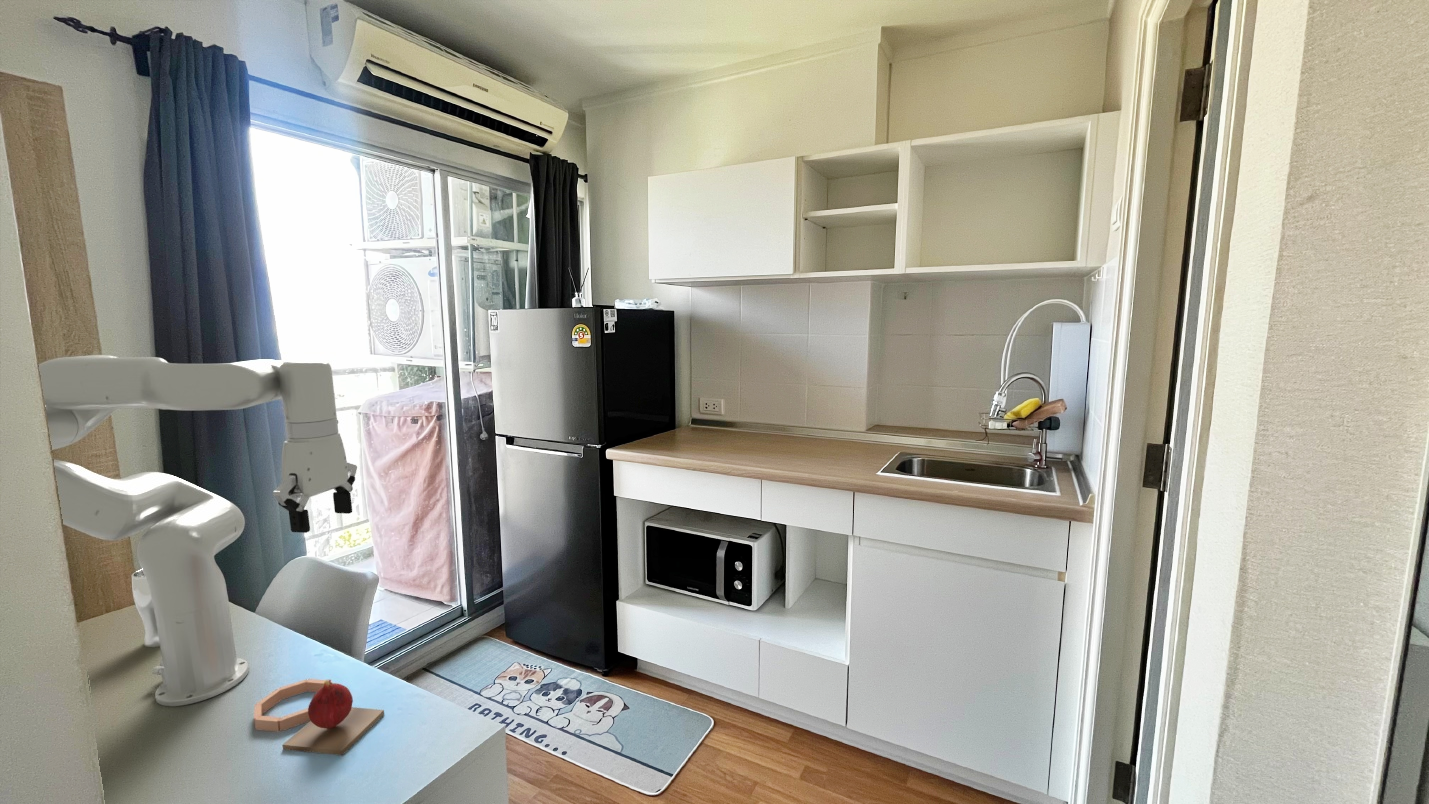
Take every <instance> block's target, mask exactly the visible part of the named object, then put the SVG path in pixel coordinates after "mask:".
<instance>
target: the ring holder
mask: <svg viewBox="0 0 1429 804" xmlns="http://www.w3.org/2000/svg"><path fill="white" fill-rule="evenodd" d="M326 680H327V679H316V678H308V679H307V678H306V679H303V680H299V681H297V682H293V683H289V684H287V685H284V686H281V687H278V688H277V689H275V690H274V691H272V692H271V693H269V694H267V695H266V696H265V697H264V698H262V699H261V700H259V701H258V702H257V703H256V704H255V705H254V706H253V707H254V712H253V723H254V728H255V730H257V731H266V732H277V733H278V732H283V731H286V730H288V729H292V728H293V727H297V726H300V725H303V724H307V723H309V722H310V721H311V720H310V718H309V715H308V707H307V708H304V709H302V710H299V711H296V712H293V713H290V714H287V715H284V716H279V717H278V716H268V715H264V714H265V713H266V712H267V711H268V710H270V709H271V708H273V707H274V706H276V704H278V703H279V702H280V701H282V700H285V699H289V698H291V697H294V696H298V695H300V693H301V694H303V692H304V693H307V692H306V691H309V693H317V692H318V691H319V690H320V689H321V688H322V687H323V686H324V682H325V681H326ZM297 694H298V695H297Z"/></svg>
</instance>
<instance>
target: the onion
mask: <svg viewBox="0 0 1429 804" xmlns="http://www.w3.org/2000/svg"><path fill="white" fill-rule="evenodd" d="M325 680H326V681H325V682H324V686H323V687H322V688H321V689H320V690H319V691H318V692H315V693H314V695H313V697H312V699H311V701H310V702H309V704H308V707H307V708H308V715H309V718H310V720H311V722H312V723H313V724H314V725H316V726H317V727H320V728H327V729H328V728H334V727H336V726H337V725H338V724H340V723H341V722H342V721H343V720H344V719H345V718H346V717H347V716H348V715H349V713H350V711H351V708H352V707H353V703H354V699H353V695H352V693H351V691H350V689H348V687H347V686H345V685H343V684H340V683H335V682H332V679H325Z"/></svg>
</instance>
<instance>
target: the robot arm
mask: <svg viewBox="0 0 1429 804" xmlns="http://www.w3.org/2000/svg"><path fill="white" fill-rule="evenodd" d="M38 365H39V371H40V375H41V382H42V389H43V396H44V403H45V407H46V414H47V420H48V427H49V434H50V441H51V445H52V450H51V451H53V450H57V449H61V448H65V447H67V446H71V445H72V444H75V443H77V442H78V441H80V440H82V439H83V438H85V437H86V436H87V435H88V434H89V433H91V432H92V431H93V430H94V429H96V428H97V427H98V426H99V425H100V424H102V422H104V421H105V420H106V419H107V418H109V417H110V416H111V415H112V414H114V412H116V411H118V410H123V409H125V410H126V409H135V410H137V409H158V410H171V411H223V410H224V411H227V410H228V411H230V410H232V411H233V410H241V409H242V410H243V409H247V408H250V407H253V406H254V407H255V406H257V405H261V404H265V403H270V402H274V401H277V400H281V401H282V407H283V414H284V423H285V430H286V440H285V441H283V443H282V444H283V445H282V451H281V483H280V484H279V485H278V486H277V487H276V488H275V489H274V490H273V491H272V495H273V497H274V498H275V500H276V501H277V502H278V505H279V506H280V507H282V508H283V509H284V511H285V512H288V517H289V527H290V531H291V532H292V533H303V534H304V533H305V534H307V533H308V532H310V531H311V525H310V517H309V516H310V515H309V511H308V509H305V508H306V506H307V503H308V501H309V500H310V498H311V497H315V496H318V495H321V494H323V493H325V492H328V491H331V490H334V491H335V492H333V493H332V498H333V500H332V501H333V507H334V513H335V514H344V515H345V514H351V513H353V505H352V495H351V492H352V491H353V489H354V488H353V485H354V483H355V481H356V477H355V476H356V474H357V469H358V466H357V464H353V463H350V462H348V461H347V456H346V450H345V447H344V443H343V439H342V437H341V433H339V425H338V424H339V420H338V417H337V416H338V415H337V408H336V407H337V405H336V397H335V388H334V387H335V386H334V379H333V378H334V377H333V370H332V366H331V364H330V363H329V362H328V361H326V360H324V359H295V360H278V359H276V360H275V359H262V358H261V359H260V358H259V359H252V360H244V361H235V362H230V363H229V362H228V363H172V362H168V361H167V360H166V359H164V358H162V357H157V356H156V357H155V356H142V357H141V356H140V357H138V356H137V357H135V356H133V357H132V356H130V357H129V356H128V357H124V356H123V357H121V356H119V357H118V356H115V355H114V356H113V355H109V354H93V355H92V354H91V355H79V356H65V357H64V356H63V357H57V358H56V357H55V358H52V359H48V360H46V361H43V362H41V363H39V364H38ZM53 459H54V467H55V475H56V481H57V486H58V494H59V500H60V507H61V514H62V519H63V524H62V525H63V526H66V527H69V528H72V529H73V530H76V531H79V532H80V533H84V534H86V535H88V536H90V537H94V538H96V539H100V540H104V541H118V540H123V539H126V538H129V537H132V536H133V535H134V536H135V534H136V535H137V534H138V533H140V532H142V531H144V530H146V529H147V530H146V531H145V533H144V534H143V535H142V536H141V538H140V539H139V542H138V544H137V547H136V548H137V549H136V555H137V561H138V564H139V566H140V568H141V569H142V570H143V572H144V574H145V577H146V579H147V582H148V585H149V588H150V592H151V596H152V602H153V607H154V613H155V618H156V624H157V630H158V636H159V642H160V646H159V647H160V653H161V659H160V661H159V665H157V666H154V667H153V669H152V670H151V674H152V675H157V676H161V678H162V683H161V684H160V685H159V687H157V689H156V690H155V692H154V697H155V701H156V703H157V704H159V705H160V706H161V705H162V706H165V707H166V706H167V707H180V706H186V705H191V704H195V703H199V702H202V701H205V700H208V699H210V698H214V697H215V696H218V695H220V694H223V693H224V692H226V691H228V690H230V689H232V688H233V687H235V686H237V685H238V684H239V683H241V681H243V680H244V679H245V678H246V677H247V675H248V674H249V671H250V665H249V664H250V663H249V662H248V661H247V660H246V659H244V658H240V657H237V652H236V644H235V637H234V629H233V624H232V623H233V622H232V616H231V609H230V603H229V602H230V601H229V596H228V591H227V584H226V580H225V577H224V574H223V572H222V571H221V568H220V567H219V566H218V564H217V563H216V560H215V555H216V554H218V553H219V552H221V551H222V550H224V549H225V548H226V547H228V546H229V545H230V544H233V542H235V541H236V540H237V539H238V538H240V536H241V534H242V533H243V531H244V529H245V524H246V520H245V519H246V518H245V516H244V514H243V512H242V511H241V509H240V508H239V507H238V506H237V505H236V504H234V503H233V502H232V501H230V500H227V499H225V498H224V497H222V496H220V495H218V494H216V493H213V492H210V491H209V490H206V489H204V488H202V487H199V486H197V485H196V484H194V483H191V482H189V481H186V480H184V479H182V478H179V477H177V476H174V475H172V474H169V473H164V472H158V471H143V472H139V473H134V474H131V475H129V476H126V477H123V478H118V479H116V478H110V477H107V476H104V475H101V474H99V473H96V472H93V471H91V470H90V469H87V468H86V467H83V466H81V465H78V464H75V463H72V462H70V461H69V462H68V461H64V460H59V459H55V458H53ZM298 499H299V500H298ZM297 500H298V502H297Z"/></svg>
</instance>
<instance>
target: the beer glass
mask: <svg viewBox="0 0 1429 804" xmlns="http://www.w3.org/2000/svg"><path fill="white" fill-rule="evenodd" d="M131 583H132V584H131V587H132V596H133V597H132V598H133V601H134V604H135V607H136V609H137V612H138V614H139V616H140V618H141V621H142V623H143V628H144V630H145V631H144V633H145V635H144V647H147V648H159V647H160V642H159V636H158V630H157V624H156V618H155V613H154V607H153V602H152V596H151V592H150V588H149V585H148V582H147V579H146V577H145V574H144V572H143V570H142V568H141V569H139V570H136V571H135V572H133V573H132V574H131Z"/></svg>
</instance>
